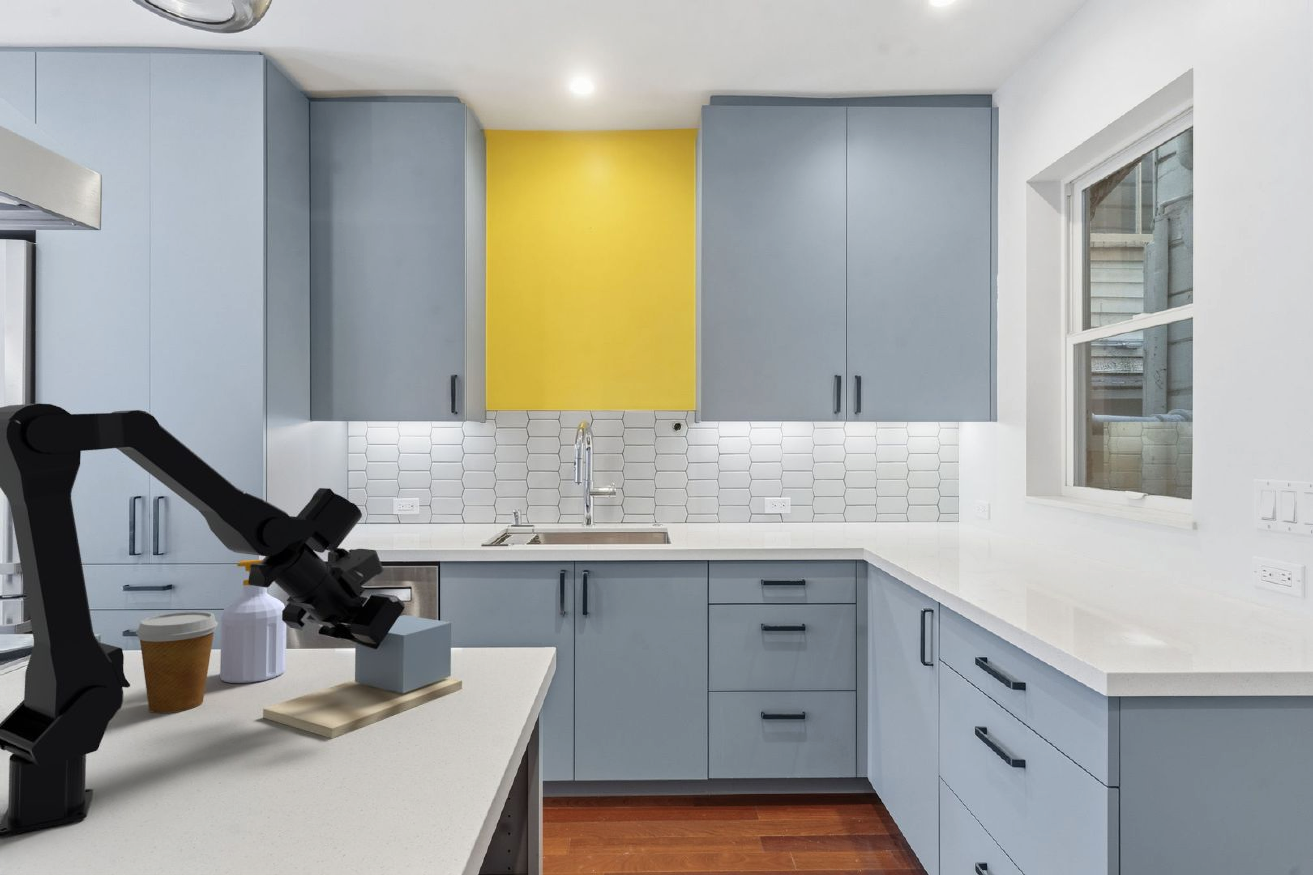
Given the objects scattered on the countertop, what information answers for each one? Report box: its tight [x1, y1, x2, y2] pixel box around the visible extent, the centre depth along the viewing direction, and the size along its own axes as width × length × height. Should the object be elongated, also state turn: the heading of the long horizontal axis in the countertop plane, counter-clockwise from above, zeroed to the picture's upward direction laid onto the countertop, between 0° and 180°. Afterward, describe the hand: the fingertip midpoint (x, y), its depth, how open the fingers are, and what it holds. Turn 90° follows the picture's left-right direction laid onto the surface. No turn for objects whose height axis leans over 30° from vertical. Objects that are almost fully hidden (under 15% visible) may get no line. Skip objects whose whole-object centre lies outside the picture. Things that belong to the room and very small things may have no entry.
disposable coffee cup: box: [135, 611, 219, 714], centre depth 101 cm, size 10×10×12 cm
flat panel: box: [262, 677, 463, 739], centre depth 103 cm, size 22×14×5 cm, turn 151°
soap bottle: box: [219, 559, 287, 684], centre depth 115 cm, size 9×9×25 cm
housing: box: [354, 614, 452, 693], centre depth 108 cm, size 9×10×8 cm
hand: (376, 645), depth 104 cm, fingers closed
